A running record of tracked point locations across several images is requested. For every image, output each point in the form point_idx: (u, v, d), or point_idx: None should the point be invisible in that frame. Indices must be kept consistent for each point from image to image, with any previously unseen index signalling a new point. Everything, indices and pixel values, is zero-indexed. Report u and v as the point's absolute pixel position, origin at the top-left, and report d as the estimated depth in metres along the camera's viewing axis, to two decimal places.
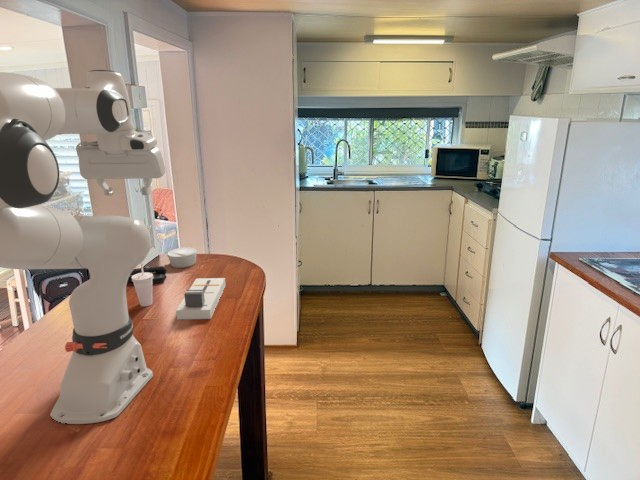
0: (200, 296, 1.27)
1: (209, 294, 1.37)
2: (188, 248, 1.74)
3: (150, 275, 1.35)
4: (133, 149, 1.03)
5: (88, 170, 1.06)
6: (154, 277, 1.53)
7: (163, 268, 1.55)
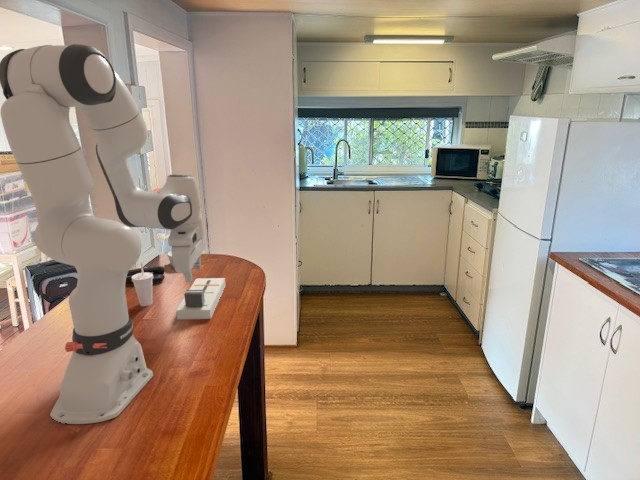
0: (200, 296, 1.27)
1: (209, 294, 1.37)
2: None
3: (150, 275, 1.35)
4: None
5: None
6: None
7: (161, 268, 1.55)
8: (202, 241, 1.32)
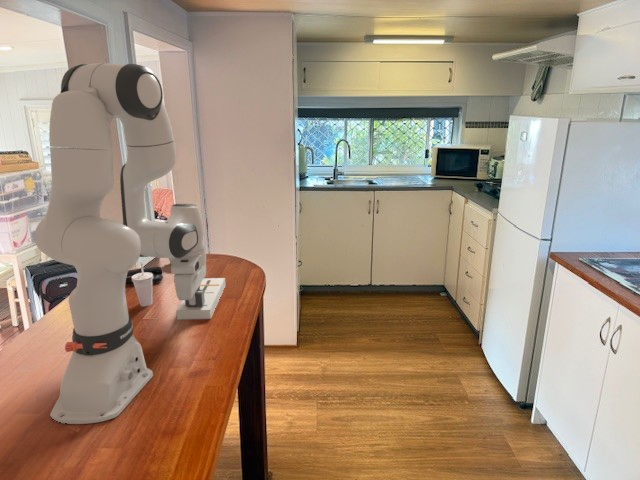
0: (200, 296, 1.27)
1: (209, 294, 1.37)
2: None
3: (150, 275, 1.35)
4: None
5: None
6: None
7: (159, 268, 1.55)
8: (204, 267, 1.34)
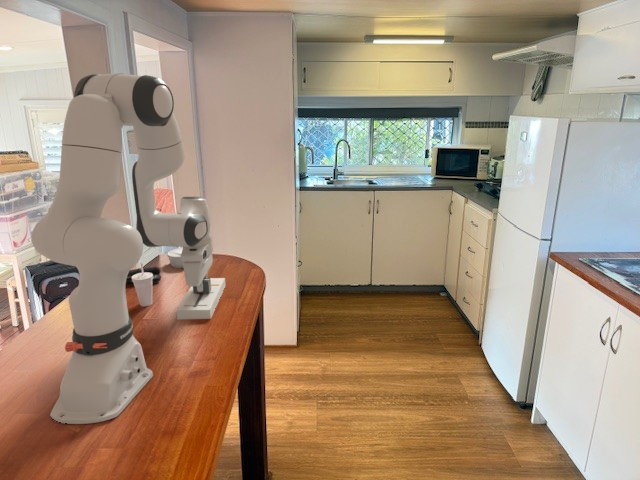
0: (207, 283, 1.36)
1: (209, 294, 1.37)
2: None
3: (150, 275, 1.35)
4: None
5: None
6: None
7: (157, 268, 1.55)
8: (210, 257, 1.42)
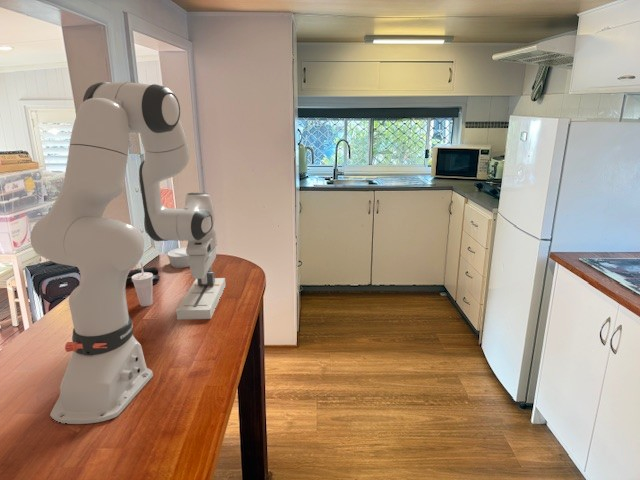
0: (211, 276, 1.42)
1: (209, 294, 1.37)
2: None
3: (150, 275, 1.35)
4: None
5: None
6: None
7: (156, 269, 1.54)
8: (214, 251, 1.48)
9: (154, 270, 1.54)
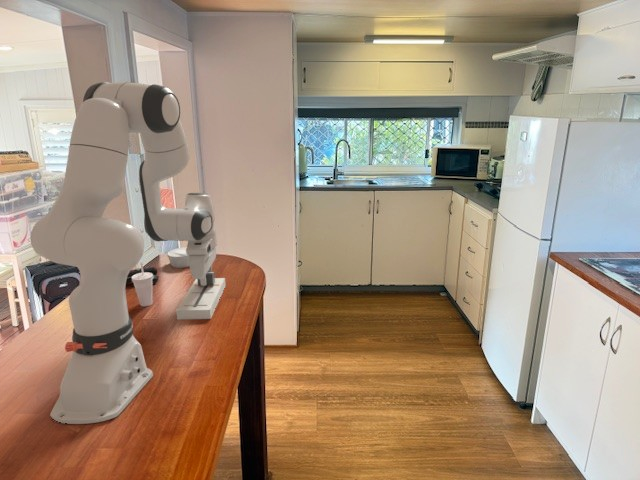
0: (211, 276, 1.42)
1: (209, 294, 1.37)
2: None
3: (150, 275, 1.35)
4: None
5: None
6: None
7: (154, 269, 1.54)
8: (214, 251, 1.48)
9: (153, 270, 1.54)
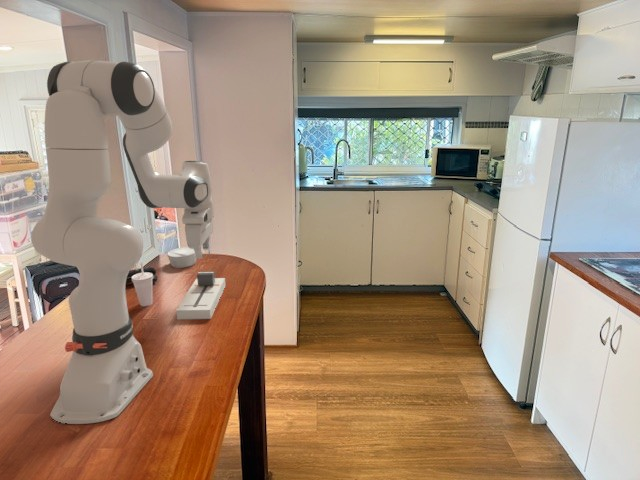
0: (211, 276, 1.42)
1: (209, 294, 1.37)
2: (188, 248, 1.74)
3: (150, 275, 1.35)
4: None
5: None
6: None
7: (153, 269, 1.54)
8: (211, 224, 1.45)
9: (152, 270, 1.54)
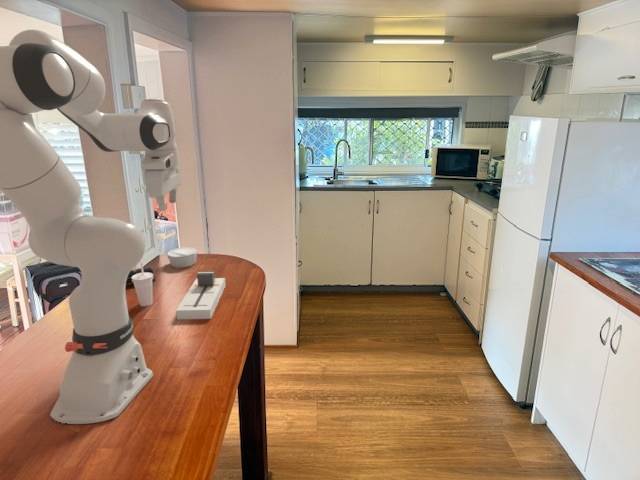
0: (211, 276, 1.42)
1: (209, 294, 1.37)
2: (188, 248, 1.74)
3: (150, 275, 1.35)
4: None
5: None
6: None
7: (151, 269, 1.54)
8: (178, 175, 1.32)
9: (149, 271, 1.53)
